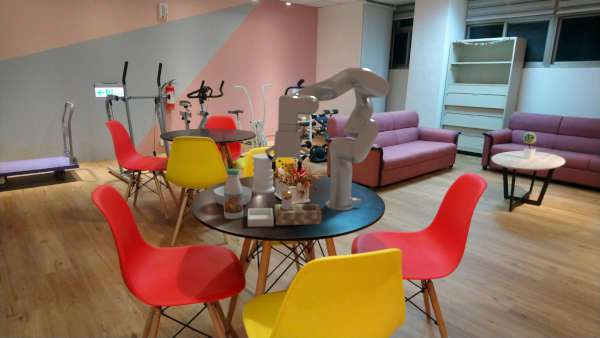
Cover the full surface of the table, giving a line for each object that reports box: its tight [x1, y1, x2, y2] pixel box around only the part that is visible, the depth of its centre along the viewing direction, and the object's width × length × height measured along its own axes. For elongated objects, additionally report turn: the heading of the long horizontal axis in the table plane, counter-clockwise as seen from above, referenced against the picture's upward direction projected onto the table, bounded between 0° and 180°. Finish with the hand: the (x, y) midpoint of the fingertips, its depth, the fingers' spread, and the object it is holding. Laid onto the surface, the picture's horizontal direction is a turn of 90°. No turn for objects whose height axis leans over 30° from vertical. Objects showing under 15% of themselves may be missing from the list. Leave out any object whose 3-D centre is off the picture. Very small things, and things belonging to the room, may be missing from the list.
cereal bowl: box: [213, 185, 253, 207], centre depth 166 cm, size 17×17×7 cm
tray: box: [247, 207, 275, 228], centre depth 150 cm, size 10×12×3 cm
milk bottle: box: [223, 168, 244, 220], centre depth 151 cm, size 8×8×20 cm
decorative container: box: [251, 153, 276, 195], centre depth 187 cm, size 12×12×18 cm
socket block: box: [274, 203, 323, 226], centre depth 151 cm, size 18×10×6 cm, turn 97°
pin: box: [281, 189, 293, 211], centre depth 150 cm, size 4×4×12 cm
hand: (286, 171), depth 146 cm, fingers open, 9 cm apart
